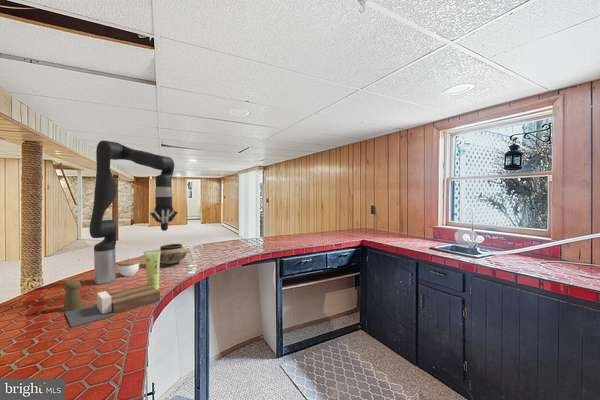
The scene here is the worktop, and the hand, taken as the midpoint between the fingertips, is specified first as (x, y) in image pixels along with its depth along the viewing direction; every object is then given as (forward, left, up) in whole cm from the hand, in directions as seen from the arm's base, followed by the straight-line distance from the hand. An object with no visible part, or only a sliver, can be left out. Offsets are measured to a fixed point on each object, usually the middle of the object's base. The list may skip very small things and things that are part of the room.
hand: (164, 230), depth 132 cm
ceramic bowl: (-42, +20, -29) cm, 55 cm away
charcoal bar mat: (+8, -32, -29) cm, 44 cm away
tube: (-2, -5, -29) cm, 30 cm away
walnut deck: (+8, -16, -29) cm, 34 cm away
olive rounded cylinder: (-4, -35, -29) cm, 46 cm away
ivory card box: (+8, -25, -26) cm, 37 cm away
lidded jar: (-38, -6, -29) cm, 48 cm away
